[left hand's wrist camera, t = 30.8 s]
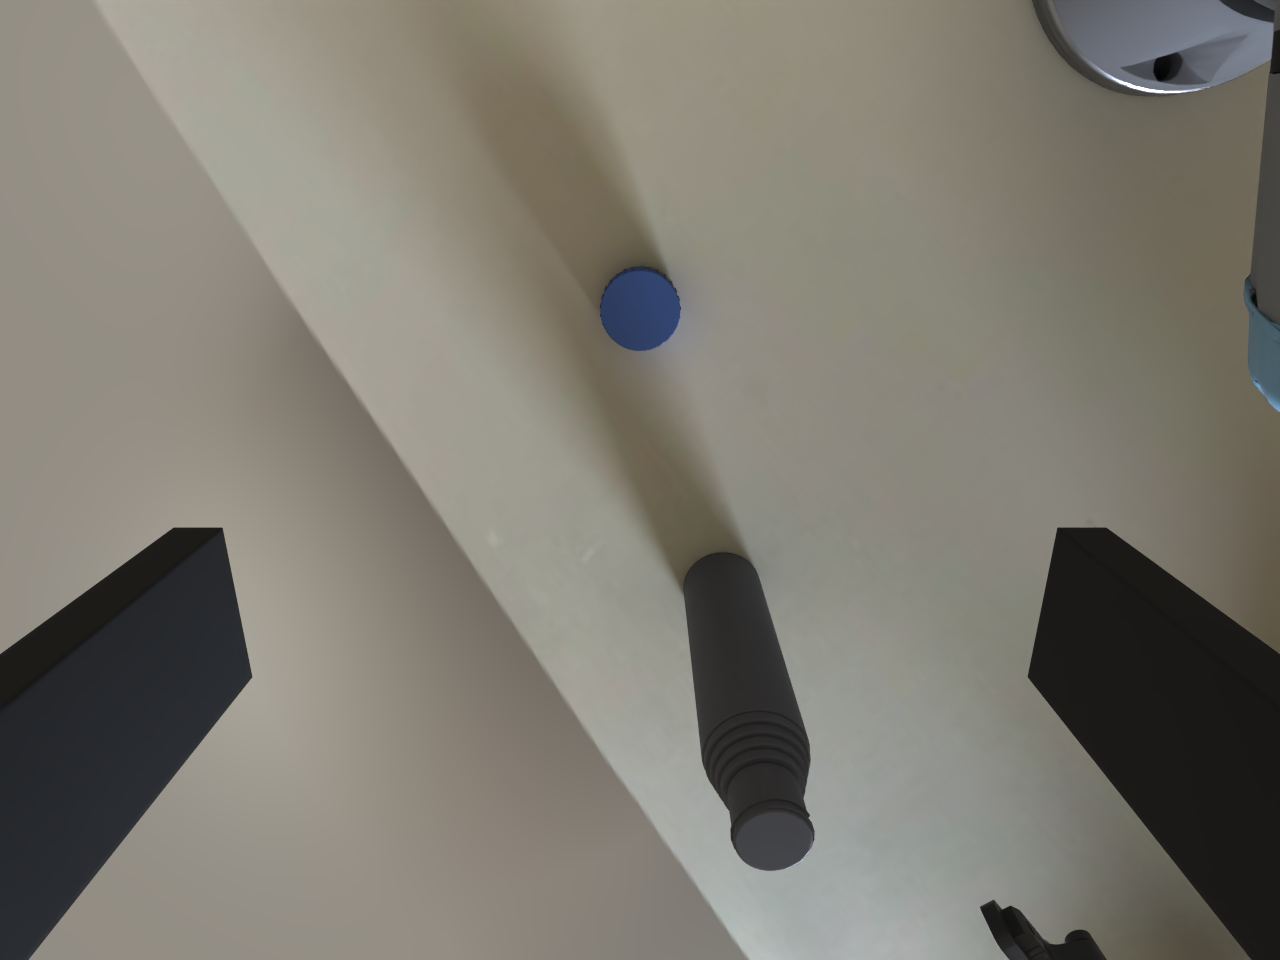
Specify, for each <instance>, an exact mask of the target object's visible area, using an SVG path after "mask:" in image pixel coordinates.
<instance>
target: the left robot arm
mask: <svg viewBox="0 0 1280 960" xmlns="http://www.w3.org/2000/svg"><path fill="white" fill-rule="evenodd" d="M1032 1H1033V4H1034V7H1035V10H1036V14H1037V16H1038V18H1039V21H1040V23H1041V25H1042V28H1043V30H1044V31H1045V33H1046V35H1047V37H1048V38H1049V40H1050V42H1051V43H1052V45H1053V46H1054V47H1055V49H1056V50H1057V51H1058V53H1059V54H1060V55H1061V56H1062V57H1063V58H1064V59H1065V60H1066V62H1067V63H1068V64H1069V65H1071V66H1072V67H1073V68H1074V69H1075V70H1076V71H1078V72H1079V73H1080V74H1082V75H1083V76H1085V77H1086V78H1088V79H1089V80H1091V81H1093V82H1095V83H1097V84H1099V85H1101V86H1103V87H1105V88H1108V89H1111V90H1113V91H1116V92H1121V93H1125V94H1129V95H1138V96H1165V95H1174V94H1180V93H1186V92H1191V91H1197V90H1201V89H1206V88H1210V87H1214V86H1217V85H1220V84H1223V83H1226V82H1229V81H1231V80H1233V79H1236V78H1238V77H1241V76H1243V75H1245V74H1246V73H1248V72H1250V71H1252V70H1254V69H1256V68H1258V67H1259V66H1261V65H1262V64H1264V63H1266V62H1268V61H1269V60H1271V68H1270V73H1273V74H1270V73H1269V74H1270V75H1269V79H1268V90H1267V100H1266V111H1265V122H1264V133H1263V144H1262V155H1261V166H1260V177H1259V188H1258V199H1257V210H1256V221H1255V232H1254V243H1253V254H1252V265H1251V274H1250V275H1249V276H1248V277H1247V278H1246V280H1245V287H1244V300H1245V304H1246V306H1247V309H1248V311H1249V347H1248V366H1249V371H1250V375H1251V378H1252V381H1253V383H1254V385H1255V386H1256V387H1257V388H1258V389H1259V390H1260V391H1261V392H1262V393H1263V394H1264V395H1265V396H1266V397H1267V399H1268V401H1269V403H1270V404H1271V405H1272V406H1273V407H1274V408H1275V409H1277V410H1278V411H1279V412H1280V0H1032ZM251 678H252V673H251V668H250V663H249V658H248V653H247V648H246V643H245V638H244V633H243V628H242V623H241V618H240V613H239V608H238V603H237V598H236V593H235V588H234V583H233V578H232V573H231V568H230V563H229V558H228V553H227V548H226V543H225V538H224V533H223V528H173V529H171V530H170V531H168V532H167V533H166V534H164V535H163V536H162V537H160V538H159V539H158V540H156V541H155V542H154V543H152V544H151V545H149V546H148V547H147V548H145V549H144V550H142V551H141V552H140V553H138V554H137V555H136V556H134V557H133V558H132V559H130V560H129V561H127V562H126V563H125V564H123V565H122V566H121V567H119V568H118V569H116V570H115V571H114V572H112V573H111V574H110V575H108V576H107V577H105V578H104V579H103V580H101V581H100V582H99V583H97V584H96V585H94V586H93V587H92V588H90V589H89V590H88V591H86V592H85V593H83V594H82V595H81V596H79V597H78V598H77V599H75V600H74V601H73V602H71V603H70V604H68V605H67V606H66V607H64V608H63V609H62V610H60V611H59V612H57V613H56V614H55V615H53V616H52V617H51V618H49V619H48V620H46V621H45V622H44V623H42V624H41V625H40V626H38V627H37V628H36V629H34V630H33V631H31V632H30V633H29V634H27V635H26V636H25V637H23V638H22V639H20V640H19V641H18V642H16V643H15V644H14V645H12V646H11V647H10V648H8V649H7V650H5V651H4V652H3V653H1V654H0V960H29V958H30V957H31V956H32V954H33V953H34V952H35V951H36V949H37V948H38V947H39V946H40V944H41V943H42V942H43V941H44V939H45V938H46V937H47V936H48V934H49V933H50V932H51V931H52V929H53V928H54V927H55V925H56V924H57V923H58V922H59V920H60V919H61V918H62V917H63V915H64V914H65V913H66V912H67V910H68V909H69V908H70V907H71V905H72V904H73V903H74V902H75V900H76V899H77V898H78V896H79V895H80V894H81V893H82V891H83V890H84V889H85V888H86V886H87V885H88V884H89V883H90V881H91V880H92V879H93V877H94V876H95V875H96V874H97V872H98V871H99V870H100V869H101V867H102V866H103V865H104V864H105V862H106V861H107V860H108V858H109V857H110V856H111V855H112V853H113V852H114V851H115V850H116V848H117V847H118V846H119V845H120V843H121V842H122V841H123V840H124V838H125V837H126V836H127V835H128V833H129V832H130V831H131V830H132V828H133V827H134V826H135V825H136V823H137V822H138V821H139V819H140V818H141V817H142V816H143V814H144V813H145V812H146V811H147V809H148V808H149V807H150V806H151V804H152V803H153V802H154V801H155V799H156V798H157V797H158V795H159V794H160V793H161V792H162V790H163V789H164V788H165V787H166V785H167V784H168V783H169V782H170V780H171V779H172V778H173V776H174V775H175V774H176V773H177V771H178V770H179V769H180V768H181V766H182V765H183V764H184V763H185V761H186V760H187V759H188V758H189V756H190V755H191V754H192V752H193V751H194V750H195V749H196V747H197V746H198V745H199V744H200V742H201V741H202V740H203V739H204V737H205V736H206V735H207V734H208V732H209V731H210V730H211V729H212V727H213V726H214V725H215V723H216V722H217V721H218V720H219V718H220V717H221V716H222V715H223V713H224V712H225V711H226V710H227V708H228V707H229V706H230V705H231V703H232V702H233V701H234V700H235V698H236V697H237V696H238V694H239V693H240V692H241V691H242V689H243V688H244V687H245V686H246V684H247V683H248V682H249V681H250V679H251ZM1028 678H1029V679H1030V681H1031V682H1032V683H1033V684H1034V686H1035V687H1036V688H1037V689H1038V691H1039V692H1040V693H1041V694H1042V696H1043V697H1044V698H1045V700H1046V701H1047V702H1048V703H1049V705H1050V706H1051V707H1052V708H1053V710H1054V711H1055V712H1056V713H1057V715H1058V716H1059V717H1060V718H1061V720H1062V721H1063V722H1064V724H1065V725H1066V726H1067V727H1068V729H1069V730H1070V731H1071V732H1072V734H1073V735H1074V736H1075V737H1076V739H1077V740H1078V741H1079V742H1080V744H1081V745H1082V746H1083V747H1084V749H1085V750H1086V751H1087V753H1088V754H1089V755H1090V756H1091V758H1092V759H1093V760H1094V761H1095V763H1096V764H1097V765H1098V766H1099V768H1100V769H1101V770H1102V771H1103V773H1104V774H1105V775H1106V777H1107V778H1108V779H1109V780H1110V782H1111V783H1112V784H1113V785H1114V787H1115V788H1116V789H1117V790H1118V792H1119V793H1120V794H1121V795H1122V797H1123V798H1124V799H1125V801H1126V802H1127V803H1128V804H1129V806H1130V807H1131V808H1132V809H1133V811H1134V812H1135V813H1136V814H1137V816H1138V817H1139V818H1140V819H1141V821H1142V822H1143V823H1144V825H1145V826H1146V827H1147V828H1148V830H1149V831H1150V832H1151V833H1152V835H1153V836H1154V837H1155V838H1156V840H1157V841H1158V842H1159V843H1160V845H1161V846H1162V847H1163V848H1164V850H1165V851H1166V852H1167V854H1168V855H1169V856H1170V857H1171V859H1172V860H1173V861H1174V862H1175V864H1176V865H1177V866H1178V867H1179V869H1180V870H1181V871H1182V872H1183V874H1184V875H1185V876H1186V878H1187V879H1188V880H1189V881H1190V883H1191V884H1192V885H1193V886H1194V888H1195V889H1196V890H1197V891H1198V893H1199V894H1200V895H1201V896H1202V898H1203V899H1204V900H1205V902H1206V903H1207V904H1208V905H1209V907H1210V908H1211V909H1212V910H1213V912H1214V913H1215V914H1216V915H1217V917H1218V918H1219V919H1220V920H1221V922H1222V923H1223V924H1224V926H1225V927H1226V928H1227V929H1228V931H1229V932H1230V933H1231V934H1232V936H1233V937H1234V938H1235V939H1236V941H1237V942H1238V943H1239V944H1240V946H1241V947H1242V948H1243V949H1244V951H1245V952H1246V953H1247V955H1248V956H1249V957H1250V958H1251V960H1280V654H1279V653H1277V652H1276V651H1275V650H1273V649H1272V648H1271V647H1269V646H1268V645H1266V644H1265V643H1264V642H1262V641H1261V640H1260V639H1258V638H1257V637H1255V636H1254V635H1253V634H1251V633H1250V632H1249V631H1247V630H1246V629H1244V628H1243V627H1242V626H1240V625H1239V624H1238V623H1236V622H1235V621H1234V620H1232V619H1231V618H1229V617H1228V616H1227V615H1225V614H1224V613H1223V612H1221V611H1220V610H1218V609H1217V608H1216V607H1214V606H1213V605H1212V604H1210V603H1209V602H1207V601H1206V600H1205V599H1203V598H1202V597H1201V596H1199V595H1198V594H1197V593H1195V592H1194V591H1192V590H1191V589H1190V588H1188V587H1187V586H1186V585H1184V584H1183V583H1181V582H1180V581H1179V580H1177V579H1176V578H1175V577H1173V576H1172V575H1170V574H1169V573H1168V572H1166V571H1165V570H1164V569H1162V568H1161V567H1159V566H1158V565H1157V564H1155V563H1154V562H1153V561H1151V560H1150V559H1149V558H1147V557H1146V556H1144V555H1143V554H1142V553H1140V552H1139V551H1138V550H1136V549H1135V548H1133V547H1132V546H1131V545H1129V544H1128V543H1127V542H1125V541H1124V540H1122V539H1121V538H1120V537H1118V536H1117V535H1116V534H1114V533H1113V532H1112V531H1110V530H1109V529H1107V528H1057V533H1056V538H1055V543H1054V548H1053V553H1052V558H1051V563H1050V568H1049V573H1048V578H1047V583H1046V588H1045V593H1044V598H1043V603H1042V608H1041V613H1040V618H1039V623H1038V628H1037V633H1036V638H1035V643H1034V648H1033V653H1032V658H1031V663H1030V668H1029V673H1028Z"/></svg>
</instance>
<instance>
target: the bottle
mask: <svg viewBox="0 0 1280 960" xmlns="http://www.w3.org/2000/svg"><path fill="white" fill-rule="evenodd" d="M684 598H685V607H686V616H687V625H688V635H689V644H690V653H691V662H692V672H693V681H694V690H695V699H696V708H697V718H698V727H699V736H700V745H701V755H702V762H703V766H704V769H705V771H706V774H707V777H708V779H709V781H710V783H711V784H712V786H713V787H714V789H715V790H716V792H717V793H718V795H719V797H720V798H721V800H722V801H723V802H724V804H725V806H726V807H727V809H728V810H729V812H730V819H731V841H732V843H733V846H734V849H735V850H736V852H737V854H738V855H739V857H740V858H741V859H742V860H743V861H744V862H745V863H746V864H748V865H750V866H752V867H754V868H756V869H760V870H765V871H779V870H784V869H787V868H790V867H792V866H794V865H796V864H798V863H799V862H800V861H802V860H803V859H804V858H805V857H806V855H807V854H808V853H809V851H810V849H811V847H812V844H813V841H814V828H813V825H812V822H811V821H810V820H809V818H808V817H809V816H810V815H809V813H808V812H807V810H806V807H805V803H804V799H803V798H804V794H805V787H806V784H807V777H808V773H809V767H810V745H809V740H808V737H807V733H806V730H805V727H804V724H803V720H802V717H801V714H800V711H799V707H798V704H797V701H796V697H795V694H794V691H793V688H792V684H791V681H790V678H789V674H788V671H787V668H786V665H785V661H784V658H783V655H782V652H781V648H780V645H779V642H778V638H777V635H776V632H775V629H774V625H773V622H772V619H771V615H770V612H769V609H768V606H767V602H766V599H765V596H764V592H763V589H762V586H761V583H760V579H759V576H758V574H757V572H756V570H755V568H754V567H753V566H752V565H751V564H750V563H749V562H748V561H747V560H745V559H744V558H742V557H740V556H738V555H735V554H731V553H716V554H711V555H708V556H706V557H704V558H702V559H700V560H699V561H697V562H696V563H695V564H694V565H693V566H692V567H691V568H690V570H689V571H688V573H687V575H686V578H685V581H684Z"/></svg>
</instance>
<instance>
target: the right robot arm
mask: <svg viewBox="0 0 1280 960" xmlns="http://www.w3.org/2000/svg"><path fill="white" fill-rule="evenodd" d="M980 909H981V911H982V913H983V915H984V917H985V920H986V922H987V924H988V926H989V928H990V930H991V932H992V934H993V936H994V938H995V940H996V942H997V944H998V945H999V947H1000V948H1001V950H1002V951H1003V952H1004V953H1005V955H1006V956H1007V957H1008V958H1009V959H1010V960H1107V959H1106V958H1105V956H1104V955H1103V953H1102V952H1101V950H1100V949H1099V947H1098V946H1097V944H1096V943H1095V941H1094V940H1093V938H1092V937H1091V935H1090V934H1089V932H1087V931H1085V930H1075V931H1072V932H1070V933H1069V934H1068V935H1067V936H1066V938H1065V943H1064V944H1059V945H1053V944H1049V942H1048V941H1046V940H1044V939H1043V938H1042V937H1041V936H1040V935H1039V933H1038V932H1037V931H1036V930H1035V928H1034V927H1033V926H1032V925H1031V924H1030V922H1029V921H1028V920H1027V919H1026V918H1025V916H1024V915H1023V914H1022V912H1021V911H1020V910H1018V909H1016V908H1014V907H1012V906H1009V907H1007V908H1005V909H1003V910H1002V909H1001V908H1000V906H999V905H998V904H997V903H996V902H995V900H992V901H990V902H988V903H986V904H985V905H983V906H981V907H980Z"/></svg>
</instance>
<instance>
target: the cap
mask: <svg viewBox="0 0 1280 960" xmlns="http://www.w3.org/2000/svg"><path fill="white" fill-rule="evenodd" d="M604 291H605V293H604V294H603V295H602V298H601V299H602V303H601V305H600V308H601V315H600V317H601V319H602V323H603V326H604V328H605V330H606V332H607V333H608V335H609V336H610V337H611V338H612V339H613V340H614V341H615V342H616V343H618V344H619V345H621V346H622V347H625V348H627V349H630V350H636V351H645V350H650V349H654V348H656V347H658V346H660V345H662V344H663V343H665V342H666V341H667V340H668V339H669V338H670V337H671V336H672V334H673V333H674V331H675V329H676V327H677V326H678V322H679V318H680V310H681V307H680V304H679V301H680V299H679V296H677V290H676V288H674V287H673V284H672V281H669V280H668V279H667V278H666V275H663V274H662V273H660V272H659V270H657V271H656V270H654V269H651V267H649V268H647V267H642V266H641V267H632V268H630V269H627V270H625V269H624V271H622V272H621V273H619V274H618V273H617V274H616V276H615V277H614V278H613V279H611V280H610V283H609V284H608V286H606V288H605V290H604Z"/></svg>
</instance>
